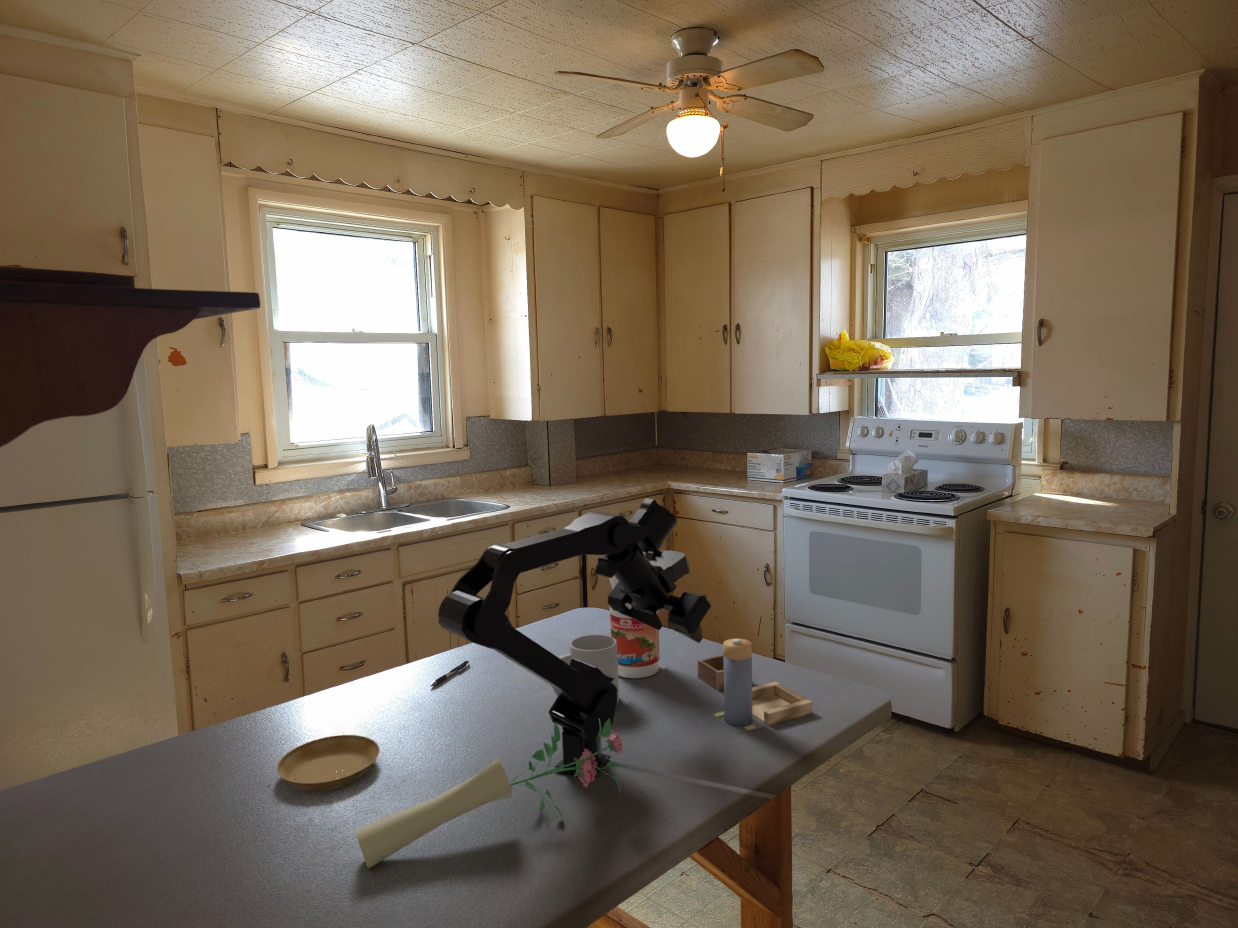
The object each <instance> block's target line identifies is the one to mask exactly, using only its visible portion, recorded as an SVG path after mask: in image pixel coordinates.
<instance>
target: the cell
mask: <svg viewBox="0 0 1238 928" xmlns="http://www.w3.org/2000/svg"><path fill="white" fill-rule="evenodd" d="M752 645H753V643H752V641H750V640H748V639H744V638H729V639H726V640H724V641H723V648H722V649H723V650H722V652H723V654H724V690H723V697H724V698H723V699H724V701H723V704H724V705H723V706H724V707H723V709H724V710H723V711H724V717H725V722H726V723H727V724H729V725H733V726H746V725H749V724H751V723H752V721H753V717H754V716H753V715H752V687H753V651H752V650H753V648H752ZM752 716H753V717H752Z"/></svg>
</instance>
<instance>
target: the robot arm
mask: <svg viewBox="0 0 1238 928" xmlns="http://www.w3.org/2000/svg"><path fill="white" fill-rule="evenodd" d="M677 525H678V519H677V517H676V516H675V513H673V512H671V511H669V510H668V509H667V508H666V507H664V506H662V505H661V504H659V503H658V502H657V500H656V499H653V498H645V499H644V500H643V501H642V502H641V504H640V506H639V508H638V510H637V511H636V512H635V514H633V516H632V517H631V519H630V520H628V519H626V517H625V516H623V515H620V514H614V513H608V512H602V511H597V510H591V511H589V512H587V513H585V514H583V515H580V516H579V517H576V518H574V520H573V521H572V522H571V523H570V524H569V525H567V526H565V527H563V528H560V529H555V530H552V531H548V532H544V533H540V534H536V535H534V536H529V537H526V538H522V539H518V540H514V541H511V542H508V543H504V544H493V545H491V546H489V547H487V548H486V549H485V550H484V552H482V554H481V556H480V558H479V559H478V561H477V562H476V563H475V564H474V565H473V566H472V567H470V568H469V569H468V570H467V571H466V572H465V573H464V574H462V576H461V577H460V578H458V580H457V581H456V583H455V584H454V586H453V588H452V589H451V590H450V592H449V594H447V595H446V596H444V597H445V598H444V599H443V600H442V601H441V603H440V606H439V608H438V615H437V617H438V621H437V622H438V624H439V626H440V627H441V629H443V630H444V631H446V632H448V633H450V634H452V635H455V636H458V637H460V638H462V639H464V640H466V641H468V642H471V643H473V644H476V645H478V646H482V647H485V648H487V649H491V650H494V651H495V652H497V653H498V654H500V655H502V656H503V657H505V658H507V659H508V660H509V661H511V662H512V663H514V664H516V665H517V666H519V667H521V668H523V669H524V670H525V671H527V672H529V673H530V674H532V675H533V676H536V677H537V678H538V679H540V680H541V681H543V682H545V683H546V684H548V685H549V686H550V687H552V688H553V691H554V693H555V695H556V698H555V700H554V702H553V704H552V705H551V707H550V708H549V710H548V716H549V717H550V720H551V722H552V723H553V724H555V723H556V724H557V726H560V727H562V728H561V729H562V731H561V744H562V759H561V760H560V761H559V762H558V763H556V765H554V769H555V768H558V767H561V766H564V765H567V764H570V763H573V762H575V759H574V758H577V759H578V760H579V759H580V757H581V756H582V755H583V754H582V752H585V751H584V750H585V749H586V750H587V749H588V751H589V752H590V751H591V753H592V754H594V753H596V752H598V751H600V750H602V749H603V748H602V739H601V738H602V735H601V736H598V734H599V730H600V724H601V730H602V729H603V726H604V724H605V722H606V721H607V720H608V719H609V718H610V722H611V728H612V727H613V723H614V718H615V714H616V713H615V712H616V709H617V705H618V703H617V692H618V689H617V687H616V686H615V685H614V684H613V683H611V682H612V681H613V680H614V678H612V677H610V676H607V675H605V674H603V673H602V671H601V670H599V669H598V668H597V667H595V666H592V665H590V664H587V663H585V662H582V661H580V660H577V659H575V658H572V659H571V662H570V664H567V663H566V662H564V661H563V660H561V659H560V658H559V657H558V656H557V655H555V654H554V653H552V652H551V651H549V650H547V648H545V647H543V646H542V645H540V644H539V643H537V642H536V641H534V640H533V639H531V638H530V637H528V636H526V634H524V633H523V632H521V631H519V630H517V628H515V626H513V624H512V621H511V620H510V618H509V616H508V615H507V614H506V612H507V610H508V608H509V607H510V605H511V601H512V597H513V592H514V586H515V582H516V580H517V579H518V578H519V575H520V574H522V573H525V572H529V571H533V570H535V569H538V568H541V567H542V568H543V567H545V566H549V565H552V564H555V563H559V562H562V561H564V560H568V559H572V558H575V557H579V556H587V555H589V556H602V557H598V559H597V564H596V565H595V571H594V572H595V574H596V575H598V576H602V577H606V578H609V579H610V578H612V577H613V576H615V577H616V579H617V580H618V581H619V582H618V583H617V584H616V586H615V587H614V588H613V590H612V589H611V591H610V592H609V594H608V595H607V604H608V605H609V608H610V607H611V608H612V609H613V610H614V611H618V612H619V613H620V614H623V615H625V616H628V617H630V618H632V619H635V620H637V621H639V622H642V623H644V624H646V625H648V626H650V627H652V628H655V629H657V630H659V631H660V630H661V629H662V628H663V623H662V621H661V619H660V618H659V614H658V615H657V614H656V612H657V611H658V612H659V611H660V610H666V611H669V612H668V620H667V621H668V623H669V625H670V627H672V628H673V630H674V631H675V632H677V633H678V634H681V635H682V636H685V637H686V638H688V639H690V640H692V641H693V642H696V643H697V644H700V643H701V642H702V641H703V639H704V637H703V631H702V626H701V623H702V620H703V619H704V618H705V616H706V615H707V613H708V612H709V611H710V608H711V607H712V604H711V602H710V599H708V597H707V595H705V594H702V593H699V592H695V591H691V590H690V591H689V590H687V591H683V593H682V594H681V595H680V597H679V596H676V595H673V594H671V593H672V592H673V593H674V591H675V590H676V589H677V587H678V586H677V584H676V582H678V581H679V580H680V579H682V577H684V576H685V575H688V574H689V573H690V571H691V570H690V566H689V563H688V562H689V561H688V559H687V556H686V555H687V554H686V553H685V552H682V551H681V552H680V551H675V550H670V549H669V550H664V549H662V550H660V548H661V547H662V545H663V544H664V542H665V541H666V540H667V539H668V537H669V535H670V534H671V533H672V532H673V530H674V529H675V528H676V526H677ZM642 551H643V552H646V553H645V555H644V553H643V552H642ZM489 584H490V588H489V591H488V593H487V595H486V596H485V598H484V597H482V596H479V595H478V594H479V593H480V592H481V591H482V590H483V589H484V588H486V586H487V585H489ZM599 719H600V723H599ZM597 736H598V739H597ZM600 740H601V741H600ZM597 741H598V743H597ZM599 742H600V743H599ZM598 744H599V747H598ZM594 757H595V760H594V761H595V762H596V763H597V766H596V767H598V769H597V768H596V767H595V768H594V769H595V770H596V772H597V773H596V775H597V774H599V772H601V771H602V769H600V768H603V769H604V768H605V767H606V766H607V764H608V762H611V760H610V758H611V755H610V754H604V753H602V752H600V753H598V754H596V755H594ZM572 767H576V763H575V764H572V765H569V766H566V767H563V768H560V769H565V768H572ZM599 769H600V770H601V771H600V770H599ZM557 770H559V769H557ZM560 773H564V774H568V775H573V776H574V775H575V773H576V769H573V770H567V771H561V772H560Z"/></svg>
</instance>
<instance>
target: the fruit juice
mask: <svg viewBox="0 0 1238 928" xmlns="http://www.w3.org/2000/svg"><path fill="white" fill-rule="evenodd" d="M642 552H643V551H642ZM643 553H644V555H645V553H646V552H643ZM609 582H610V587H611V591H612V590H613V588H614V587H615V586H616V584H617V583H618V582H619V581H618V580H617V579H616V577H615V576H613V577H612V578H609ZM656 614H657V615H658V616H659V610H658V611H657V612H656ZM609 617H610V619H609V620H610V621H609V623H610V637H612V638H614V639H615V640H616V641H617V657H618V677H621V678H626V679H644V678H649V677H652V676H654V675H656V674H657V673H658V672H659V670H660V667H661V663H660V662H661V661H660V660H661V659H660V657H661V656H660V654H661V653H660V632H659V631H660V630H657V629H655V628H652V627H650V626H648V625H646V624H644V623H642V622H639V621H637V620H635V619H632V618H630V617H628V616H625V615H623V614H620V613H619V612H618V611H614V610H613V609H612V608H611V607H610V606H609Z"/></svg>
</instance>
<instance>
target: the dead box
mask: <svg viewBox="0 0 1238 928" xmlns="http://www.w3.org/2000/svg"><path fill="white" fill-rule="evenodd" d="M697 679H699V680H701V681H702V682H703V683H705V684H707V685H708V686H710V687H712V688H713V689H714V690H716V691H718V692H719V691H724V653H723V654H720V655H715V656H710V657H706V658H703V659H702V658H701V659H697Z"/></svg>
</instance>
